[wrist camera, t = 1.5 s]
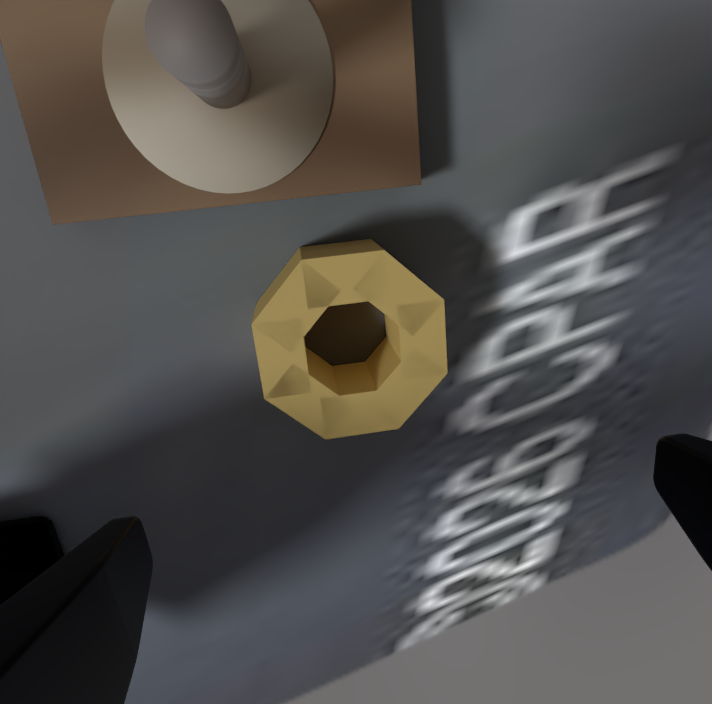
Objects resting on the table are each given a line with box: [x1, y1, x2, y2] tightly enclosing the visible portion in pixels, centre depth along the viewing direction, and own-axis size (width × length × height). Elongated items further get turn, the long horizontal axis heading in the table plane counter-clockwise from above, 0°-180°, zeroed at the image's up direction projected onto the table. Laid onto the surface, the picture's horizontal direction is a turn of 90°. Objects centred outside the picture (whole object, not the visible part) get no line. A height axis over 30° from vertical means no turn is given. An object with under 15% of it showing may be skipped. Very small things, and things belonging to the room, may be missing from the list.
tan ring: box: [251, 239, 448, 440], centre depth 19 cm, size 6×6×3 cm
